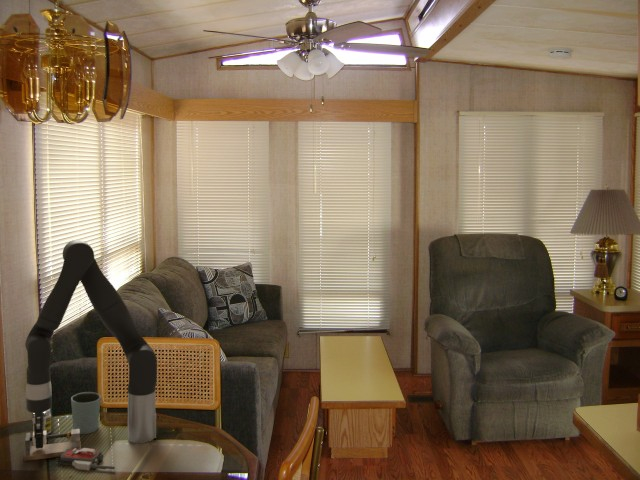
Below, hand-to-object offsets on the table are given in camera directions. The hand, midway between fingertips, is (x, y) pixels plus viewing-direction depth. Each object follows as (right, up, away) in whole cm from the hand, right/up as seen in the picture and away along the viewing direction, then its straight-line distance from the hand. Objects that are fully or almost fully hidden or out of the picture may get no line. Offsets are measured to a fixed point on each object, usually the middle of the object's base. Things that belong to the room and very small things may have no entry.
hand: (39, 444), depth 205 cm
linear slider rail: (+4, -3, +2) cm, 5 cm away
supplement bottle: (-6, -1, +16) cm, 17 cm away
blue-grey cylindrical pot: (+8, -1, +20) cm, 22 cm away
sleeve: (0, +1, 0) cm, 1 cm away
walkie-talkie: (+18, -5, -4) cm, 19 cm away
